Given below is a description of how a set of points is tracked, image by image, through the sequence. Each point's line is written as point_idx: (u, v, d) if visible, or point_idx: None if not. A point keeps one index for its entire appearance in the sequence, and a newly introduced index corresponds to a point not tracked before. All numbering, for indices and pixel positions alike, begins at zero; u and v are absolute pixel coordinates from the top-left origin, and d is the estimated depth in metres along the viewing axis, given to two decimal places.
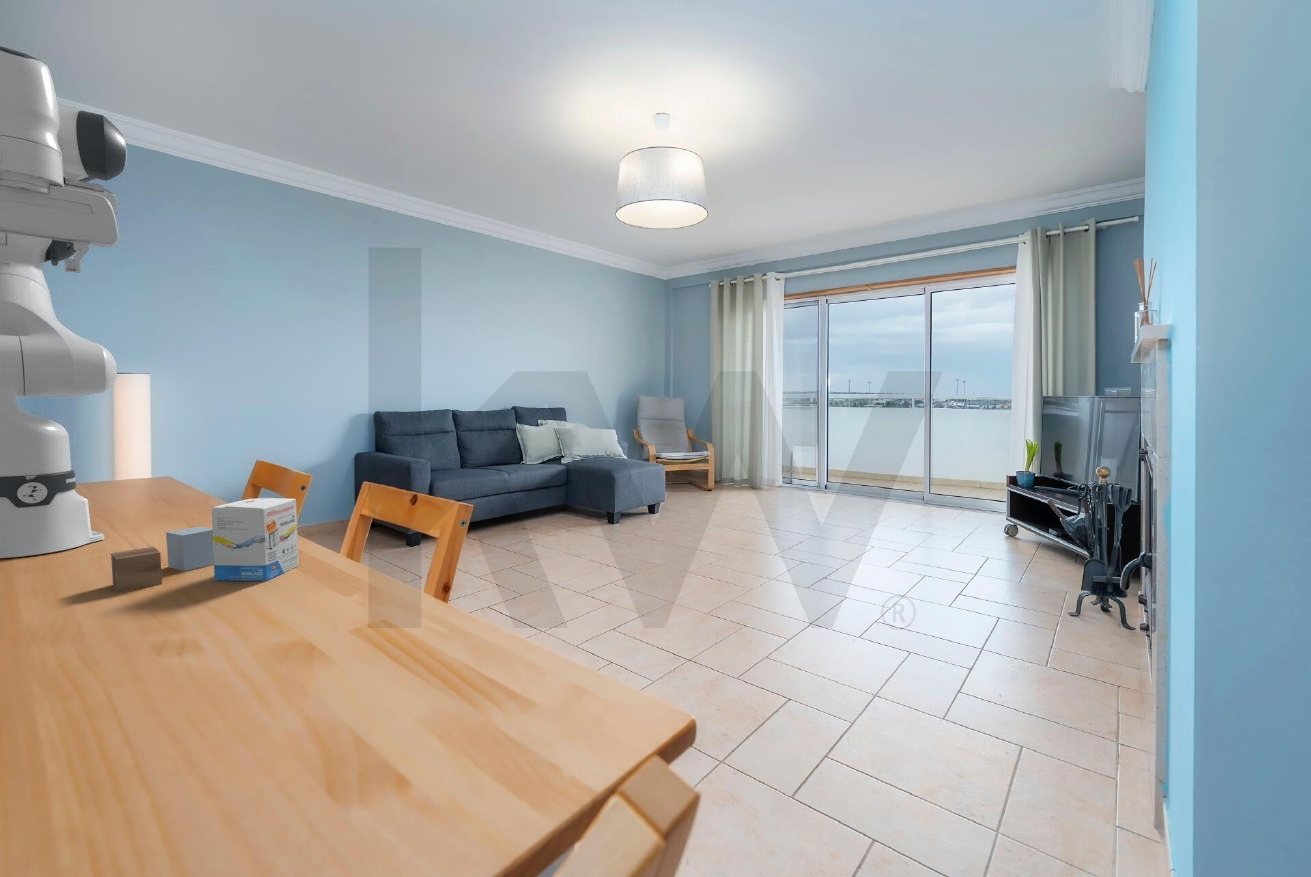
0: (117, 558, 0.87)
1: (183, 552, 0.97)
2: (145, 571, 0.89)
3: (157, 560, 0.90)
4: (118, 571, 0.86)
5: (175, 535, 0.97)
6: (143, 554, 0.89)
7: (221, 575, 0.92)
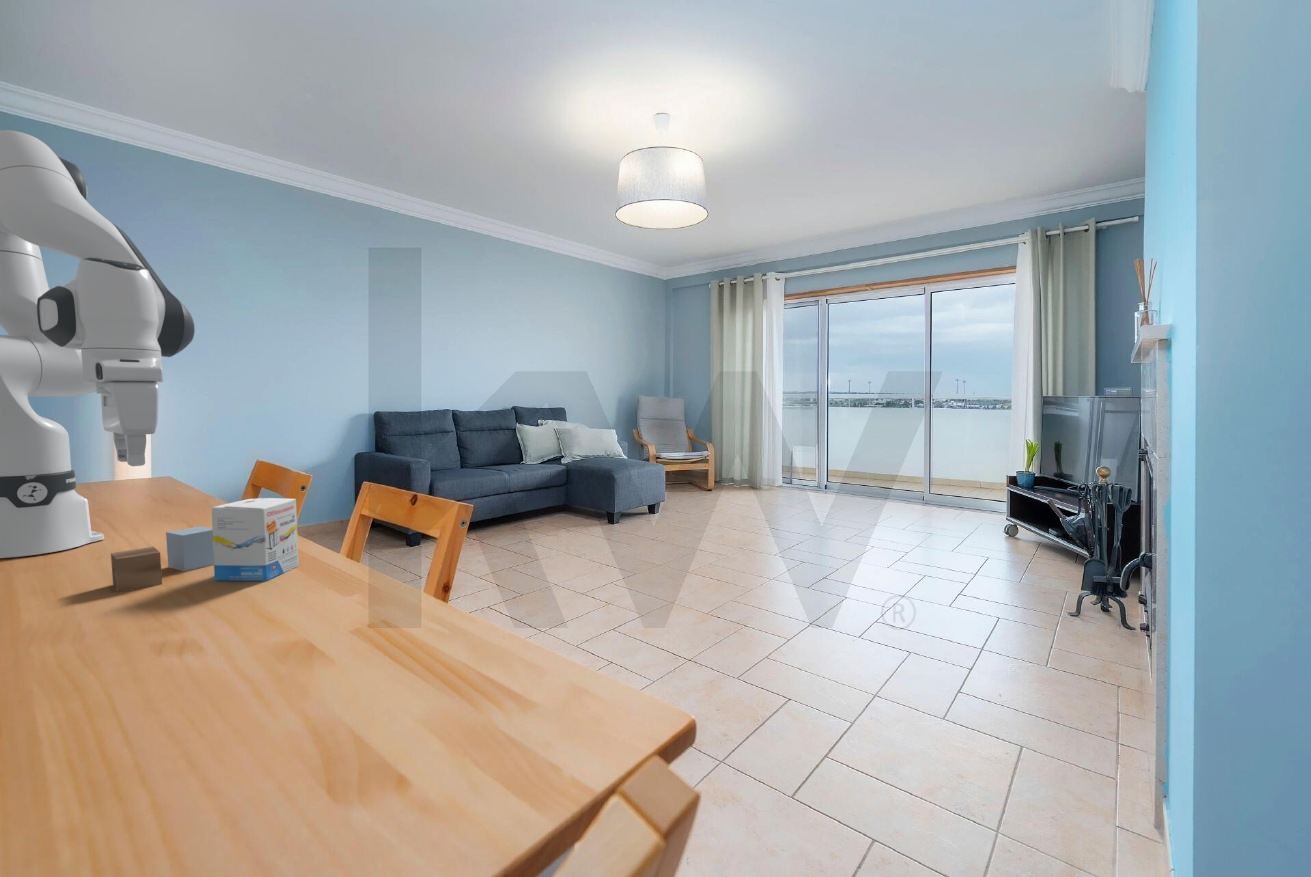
0: (117, 558, 0.87)
1: (183, 552, 0.97)
2: (145, 571, 0.89)
3: (157, 560, 0.90)
4: (118, 571, 0.86)
5: (175, 535, 0.97)
6: (143, 554, 0.89)
7: (221, 575, 0.92)
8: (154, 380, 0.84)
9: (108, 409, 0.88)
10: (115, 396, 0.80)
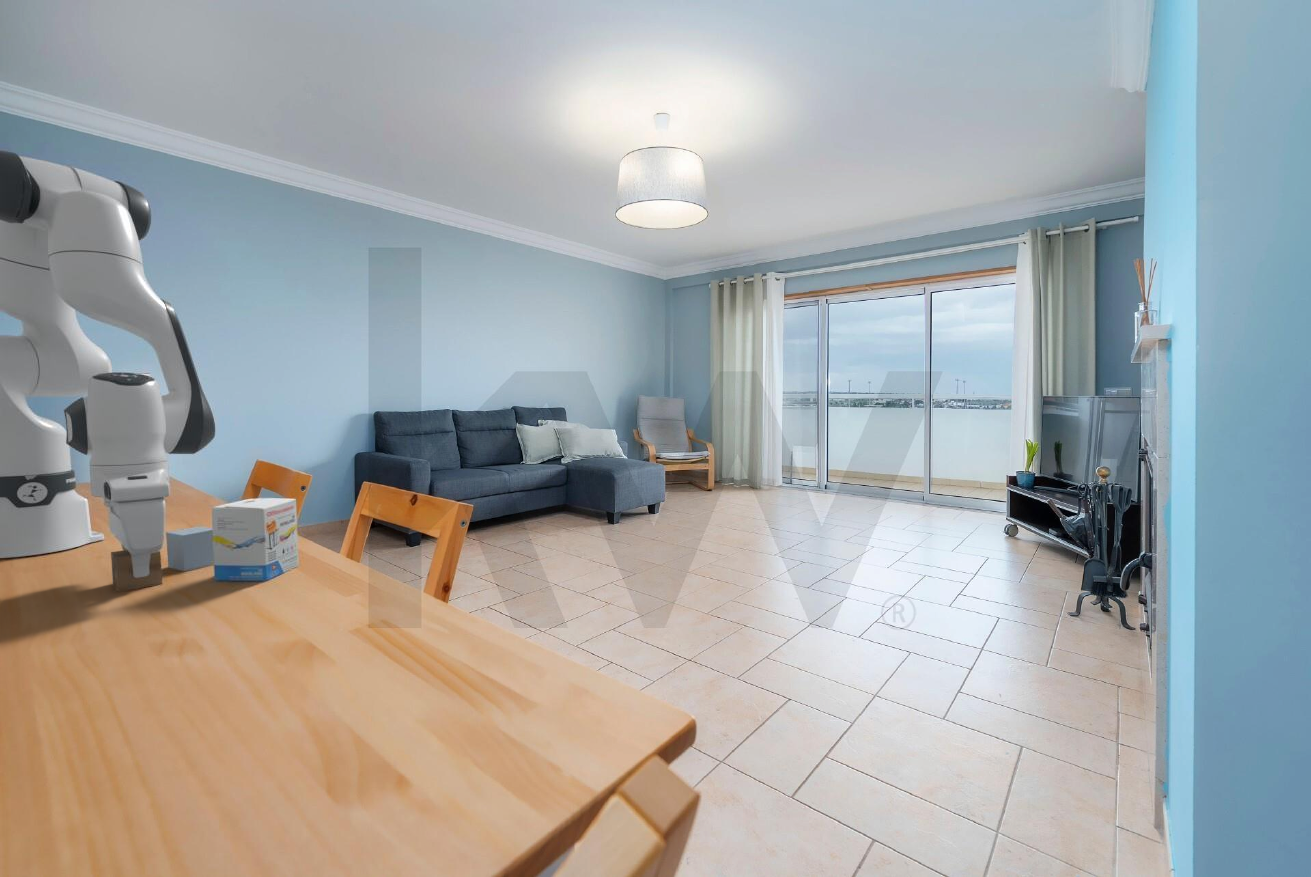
0: (117, 557, 0.87)
1: (183, 552, 0.97)
2: None
3: (157, 559, 0.90)
4: (118, 570, 0.86)
5: (175, 535, 0.97)
6: None
7: (221, 575, 0.92)
8: (161, 497, 0.85)
9: (115, 518, 0.89)
10: (123, 518, 0.81)
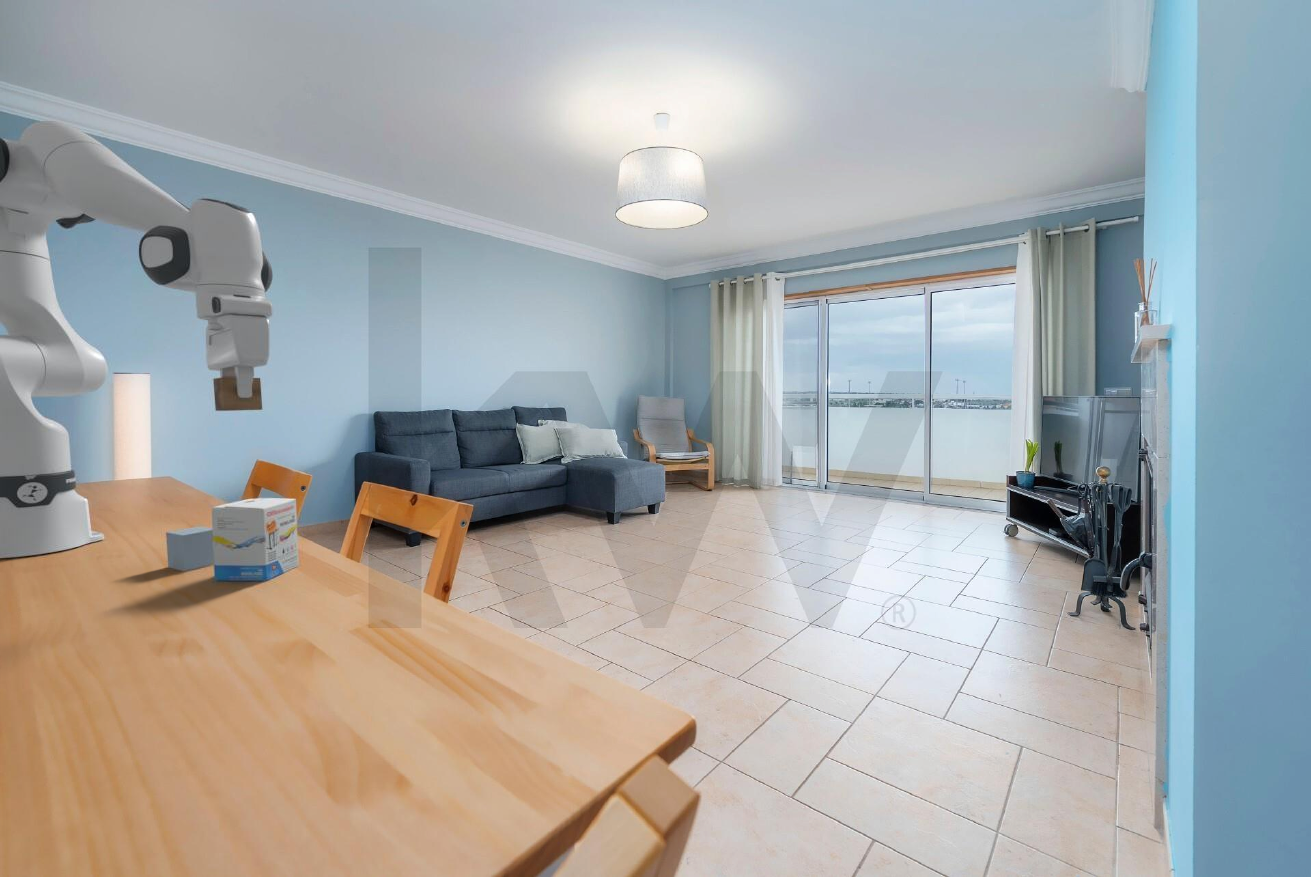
0: None
1: (183, 552, 0.97)
2: None
3: (257, 385, 0.93)
4: (223, 389, 0.89)
5: (175, 535, 0.97)
6: None
7: (221, 575, 0.92)
8: (265, 315, 0.88)
9: (217, 346, 0.92)
10: (233, 327, 0.84)
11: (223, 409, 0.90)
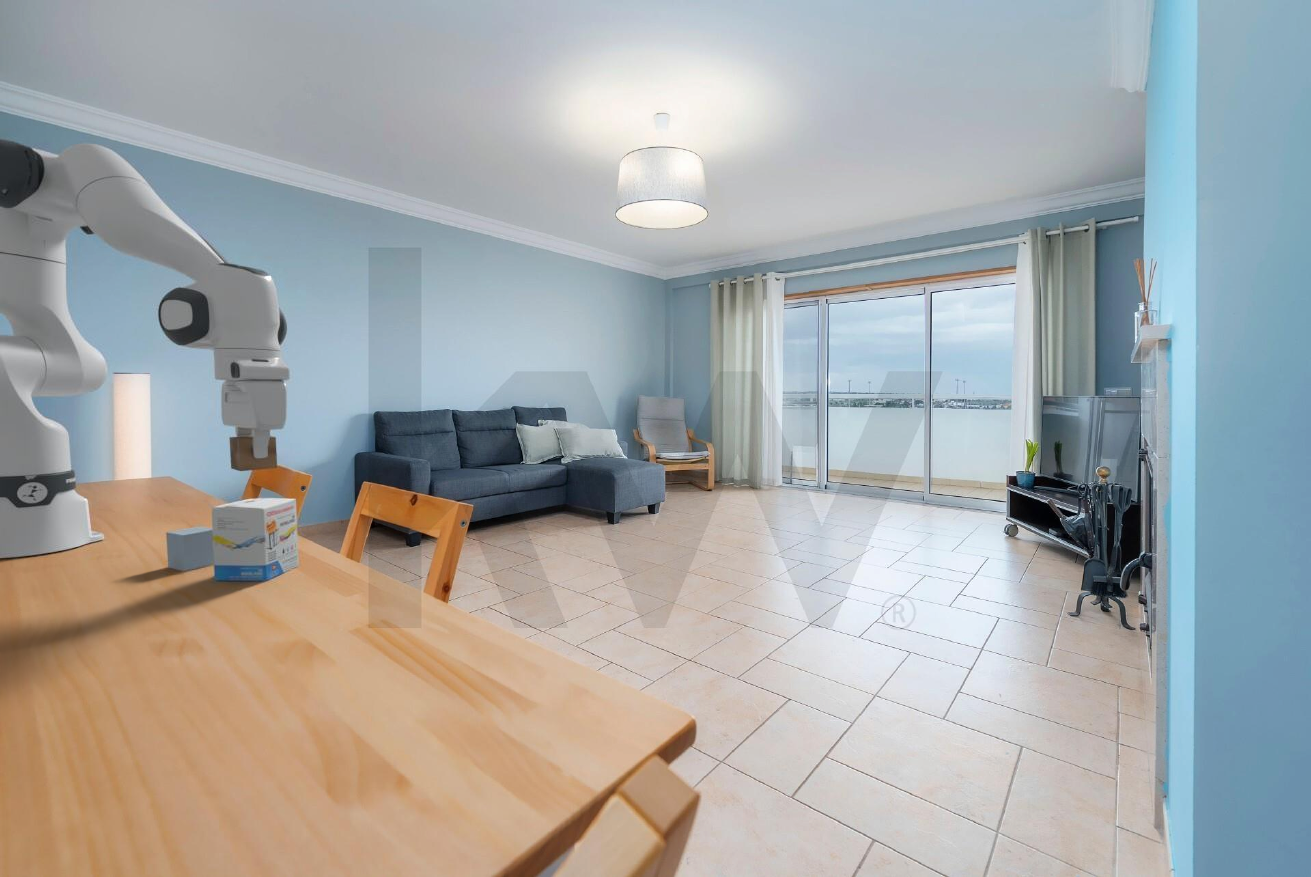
0: (239, 438, 0.91)
1: (183, 552, 0.97)
2: None
3: (273, 444, 0.94)
4: (240, 450, 0.91)
5: (175, 535, 0.97)
6: None
7: (221, 575, 0.92)
8: (282, 379, 0.90)
9: (233, 405, 0.94)
10: (252, 394, 0.86)
11: (239, 469, 0.91)
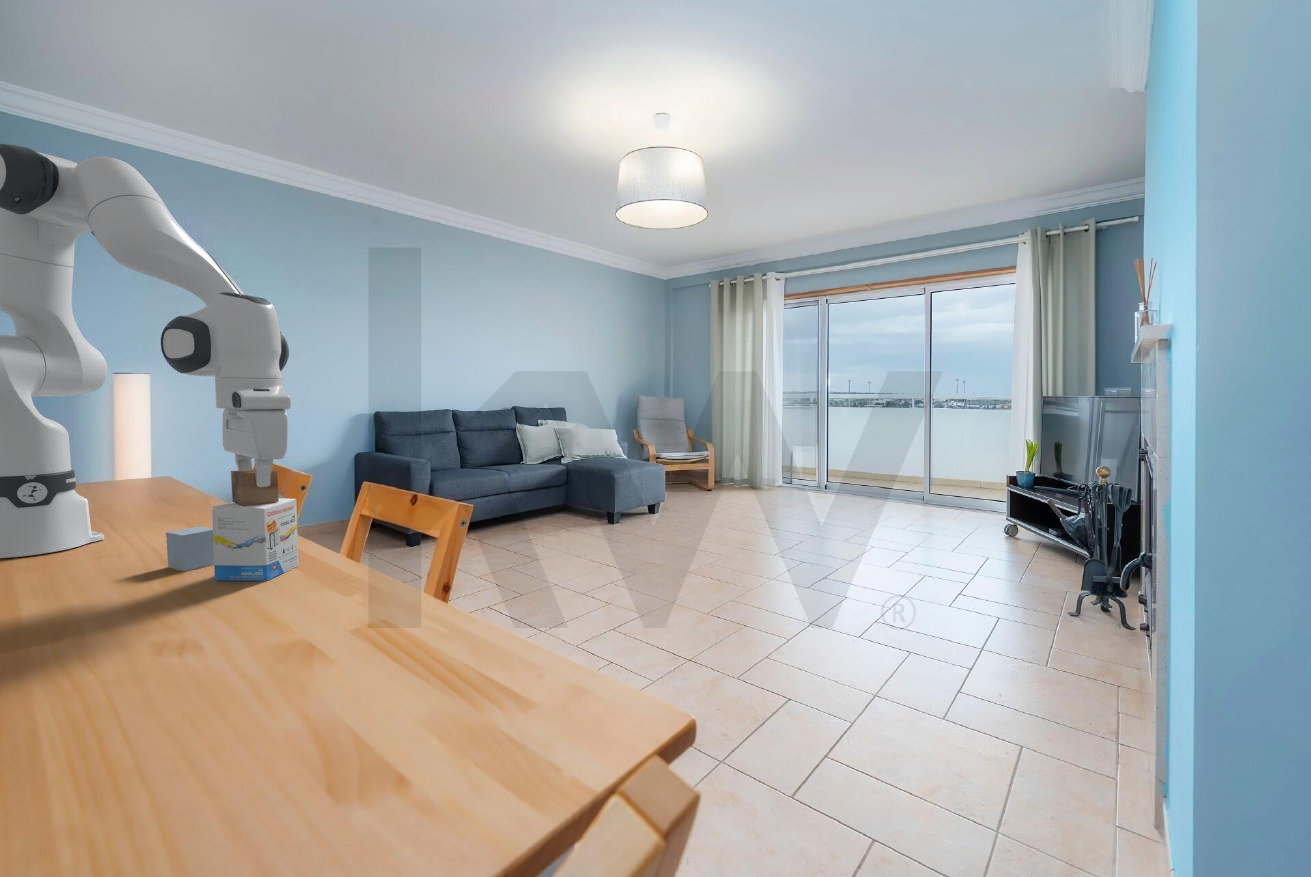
0: (241, 473, 0.92)
1: (183, 552, 0.97)
2: (265, 488, 0.94)
3: (274, 478, 0.95)
4: (242, 485, 0.92)
5: (175, 535, 0.97)
6: None
7: (221, 575, 0.92)
8: (283, 408, 0.90)
9: (234, 433, 0.94)
10: (253, 424, 0.86)
11: (241, 504, 0.92)
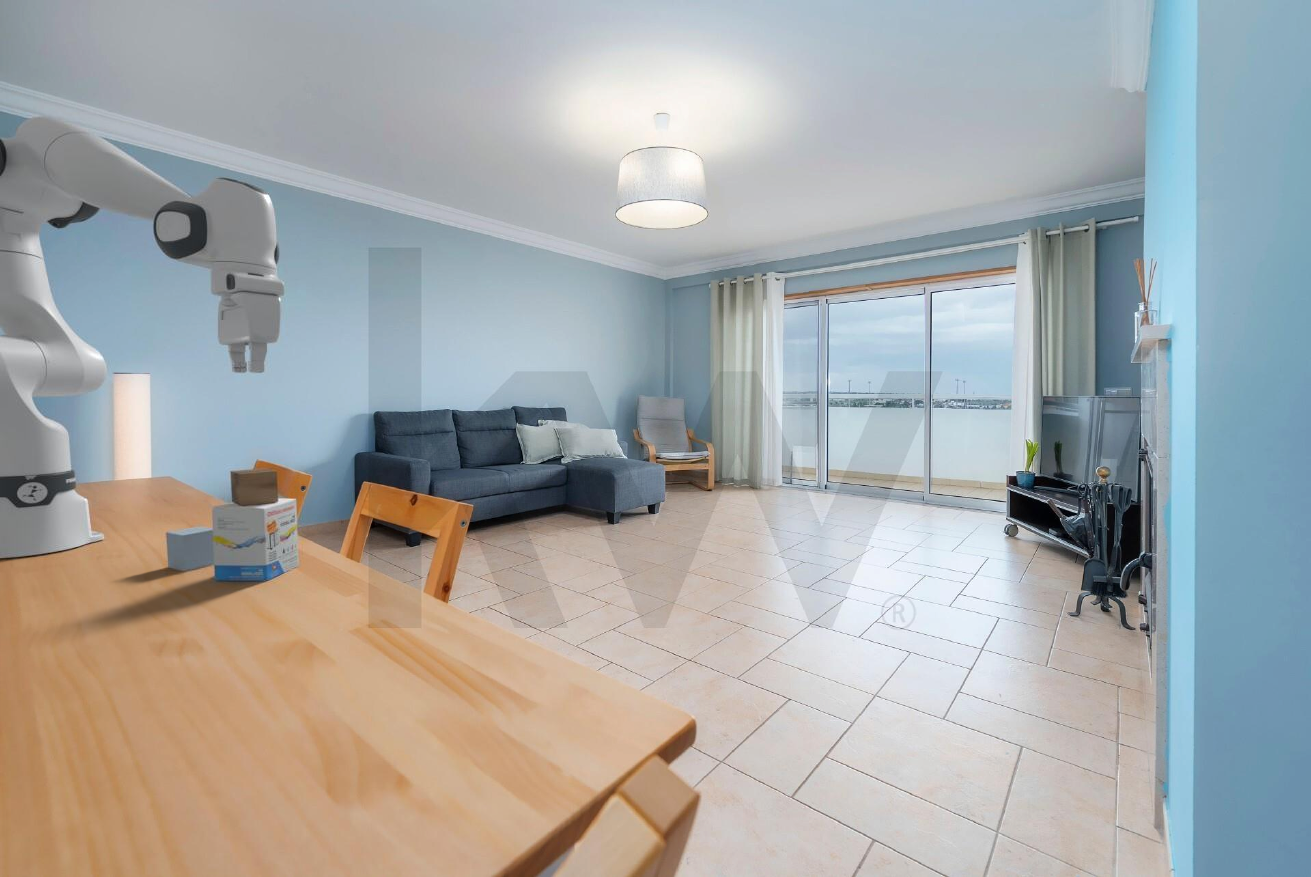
0: (240, 473, 0.92)
1: (183, 552, 0.97)
2: (264, 488, 0.94)
3: (274, 478, 0.95)
4: (241, 485, 0.92)
5: (175, 535, 0.97)
6: (262, 471, 0.94)
7: (221, 575, 0.92)
8: (277, 293, 0.91)
9: (229, 321, 0.95)
10: (246, 304, 0.87)
11: (240, 504, 0.92)
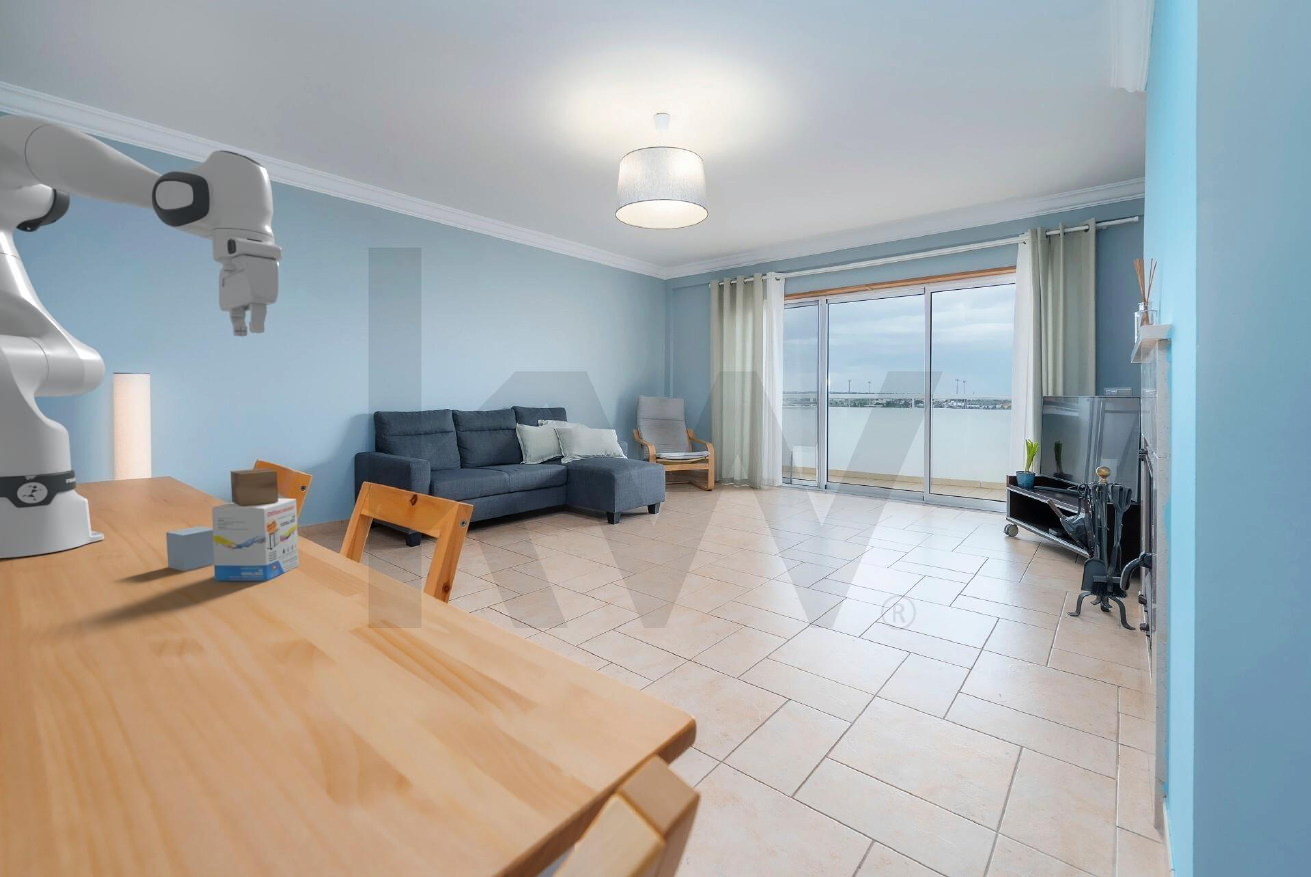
0: (240, 473, 0.92)
1: (183, 552, 0.97)
2: (264, 488, 0.94)
3: (274, 478, 0.95)
4: (241, 485, 0.92)
5: (175, 535, 0.97)
6: (262, 472, 0.94)
7: (221, 575, 0.92)
8: (275, 257, 0.98)
9: (230, 286, 1.02)
10: (247, 266, 0.94)
11: (240, 504, 0.92)
